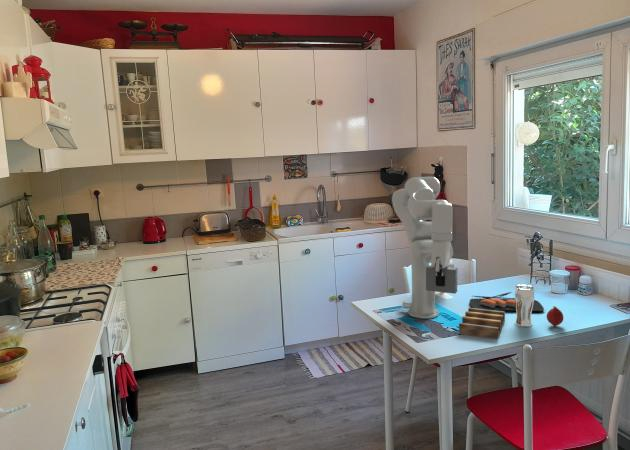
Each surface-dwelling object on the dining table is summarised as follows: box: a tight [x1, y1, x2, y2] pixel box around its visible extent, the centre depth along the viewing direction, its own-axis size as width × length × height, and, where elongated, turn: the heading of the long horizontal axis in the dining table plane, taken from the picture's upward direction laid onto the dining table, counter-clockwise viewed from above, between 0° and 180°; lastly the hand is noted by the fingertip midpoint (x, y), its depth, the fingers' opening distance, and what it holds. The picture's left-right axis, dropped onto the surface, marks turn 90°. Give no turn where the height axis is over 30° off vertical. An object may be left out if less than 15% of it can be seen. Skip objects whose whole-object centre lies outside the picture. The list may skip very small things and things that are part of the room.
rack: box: [458, 307, 506, 340], centre depth 201 cm, size 14×20×4 cm
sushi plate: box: [469, 291, 545, 312], centre depth 231 cm, size 29×30×4 cm
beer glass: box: [514, 284, 535, 328], centre depth 201 cm, size 7×7×15 cm
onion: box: [546, 305, 564, 327], centre depth 199 cm, size 6×6×8 cm
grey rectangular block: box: [426, 264, 459, 295], centre depth 194 cm, size 11×3×9 cm, turn 62°
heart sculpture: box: [435, 258, 455, 300], centre depth 242 cm, size 16×5×18 cm, turn 13°
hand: (441, 284), depth 194 cm, fingers closed on grey rectangular block, 3 cm apart
